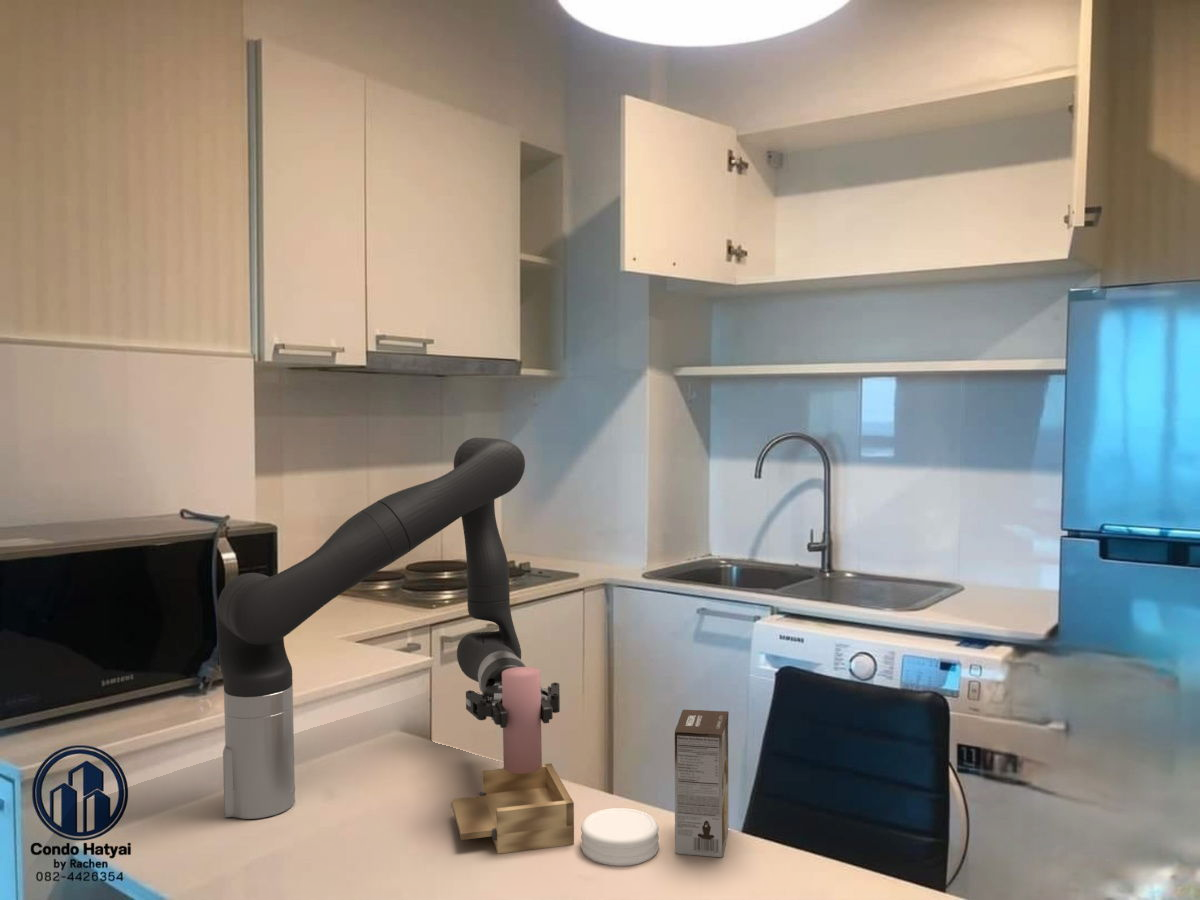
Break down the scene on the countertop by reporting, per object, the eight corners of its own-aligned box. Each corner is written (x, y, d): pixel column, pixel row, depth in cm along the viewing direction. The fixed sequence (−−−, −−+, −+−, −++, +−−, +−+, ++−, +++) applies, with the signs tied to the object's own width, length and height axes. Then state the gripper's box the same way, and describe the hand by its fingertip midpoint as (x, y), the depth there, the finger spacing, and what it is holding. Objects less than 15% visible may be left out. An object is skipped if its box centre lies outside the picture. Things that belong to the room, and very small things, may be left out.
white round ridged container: (669, 840, 124) (669, 814, 124) (640, 874, 115) (640, 846, 115) (601, 826, 128) (600, 801, 128) (567, 858, 119) (567, 831, 119)
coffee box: (682, 823, 129) (681, 707, 128) (729, 827, 127) (729, 710, 127) (673, 854, 120) (673, 730, 119) (724, 859, 118) (724, 733, 118)
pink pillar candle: (507, 775, 125) (505, 679, 124) (500, 761, 130) (499, 668, 129) (545, 771, 126) (543, 676, 126) (537, 756, 131) (536, 665, 131)
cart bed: (462, 858, 119) (461, 815, 119) (450, 812, 132) (450, 774, 132) (574, 844, 123) (573, 802, 122) (551, 800, 136) (551, 763, 136)
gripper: (456, 660, 140) (471, 695, 123) (551, 652, 143) (577, 685, 127) (457, 710, 140) (472, 752, 124) (552, 701, 144) (578, 740, 127)
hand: (525, 718), depth 125 cm, fingers closed on pink pillar candle, 5 cm apart
